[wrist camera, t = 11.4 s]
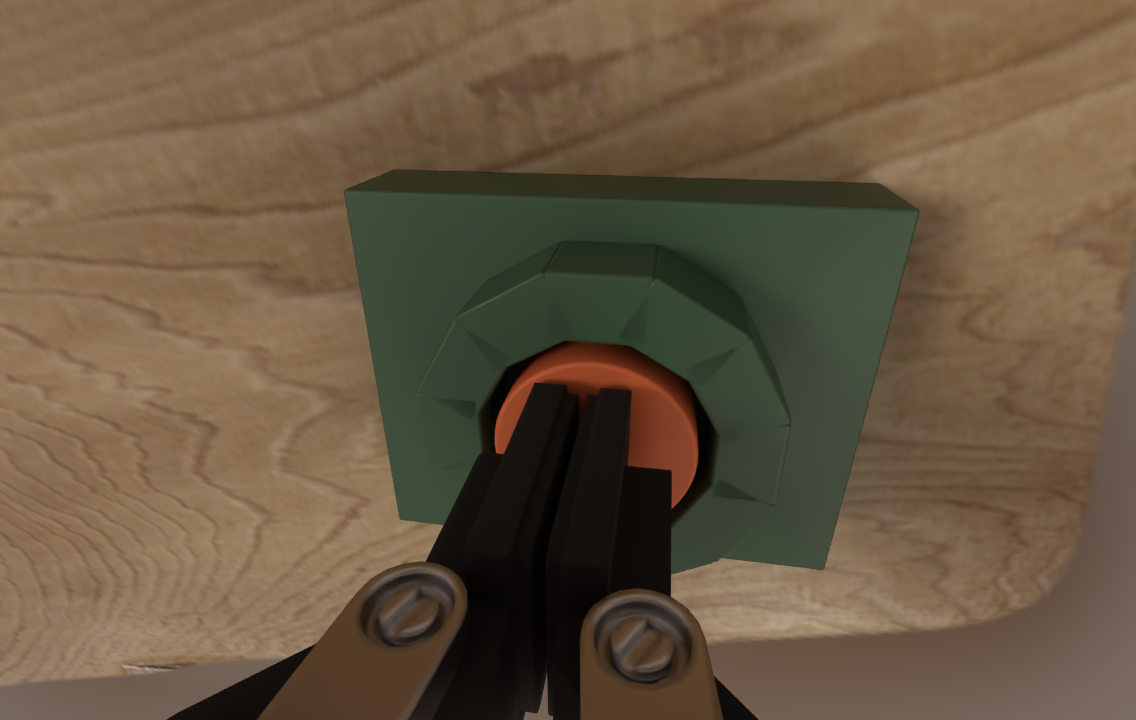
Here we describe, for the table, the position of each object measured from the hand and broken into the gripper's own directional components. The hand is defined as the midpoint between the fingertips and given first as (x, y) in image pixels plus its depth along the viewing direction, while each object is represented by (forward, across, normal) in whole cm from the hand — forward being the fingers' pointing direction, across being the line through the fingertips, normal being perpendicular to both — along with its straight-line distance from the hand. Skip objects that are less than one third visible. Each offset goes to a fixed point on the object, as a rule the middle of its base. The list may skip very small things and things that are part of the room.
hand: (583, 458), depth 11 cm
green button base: (+4, 0, 0) cm, 4 cm away
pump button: (+2, 0, 0) cm, 2 cm away
